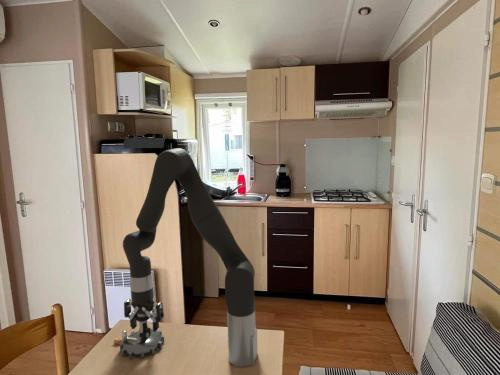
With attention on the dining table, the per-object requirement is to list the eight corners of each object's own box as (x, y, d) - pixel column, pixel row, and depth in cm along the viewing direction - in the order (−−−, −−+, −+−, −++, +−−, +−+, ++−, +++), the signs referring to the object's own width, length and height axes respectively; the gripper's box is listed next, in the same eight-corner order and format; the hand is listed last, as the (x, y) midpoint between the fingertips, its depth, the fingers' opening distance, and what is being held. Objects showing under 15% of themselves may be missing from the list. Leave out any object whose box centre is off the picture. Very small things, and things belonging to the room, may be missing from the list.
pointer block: (124, 341, 115) (123, 337, 115) (120, 344, 113) (120, 341, 113) (117, 340, 116) (116, 336, 116) (113, 343, 114) (113, 340, 114)
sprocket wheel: (171, 335, 118) (170, 320, 117) (150, 361, 103) (149, 345, 103) (136, 330, 121) (134, 316, 120) (111, 356, 107) (109, 340, 106)
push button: (144, 345, 109) (142, 318, 108) (131, 343, 110) (129, 316, 109) (154, 334, 115) (153, 308, 114) (142, 332, 117) (140, 307, 115)
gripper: (117, 289, 108) (120, 333, 110) (154, 292, 104) (157, 337, 107) (130, 280, 115) (133, 321, 117) (165, 283, 112) (168, 325, 114)
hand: (144, 329), depth 112 cm, fingers open, 8 cm apart
